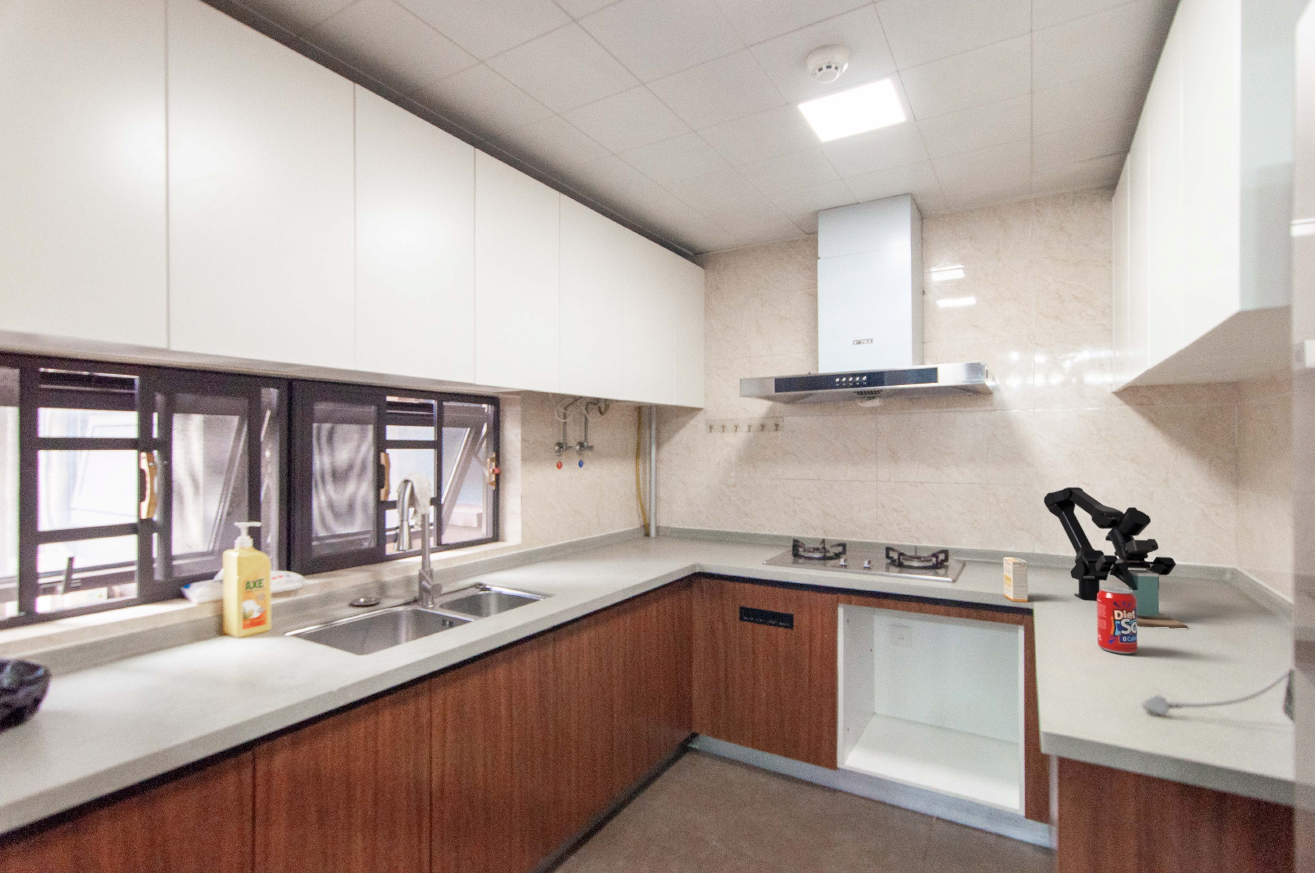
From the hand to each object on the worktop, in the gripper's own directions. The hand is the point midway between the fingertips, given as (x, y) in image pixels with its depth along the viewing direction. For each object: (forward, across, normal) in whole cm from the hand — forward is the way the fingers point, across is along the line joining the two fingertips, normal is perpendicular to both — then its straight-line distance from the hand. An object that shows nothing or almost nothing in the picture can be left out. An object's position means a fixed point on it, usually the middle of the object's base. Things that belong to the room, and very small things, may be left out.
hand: (1146, 589), depth 176 cm
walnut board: (+6, 0, +8) cm, 10 cm away
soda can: (+28, -21, -14) cm, 37 cm away
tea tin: (+4, 0, +6) cm, 7 cm away
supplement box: (-8, -27, +22) cm, 36 cm away
